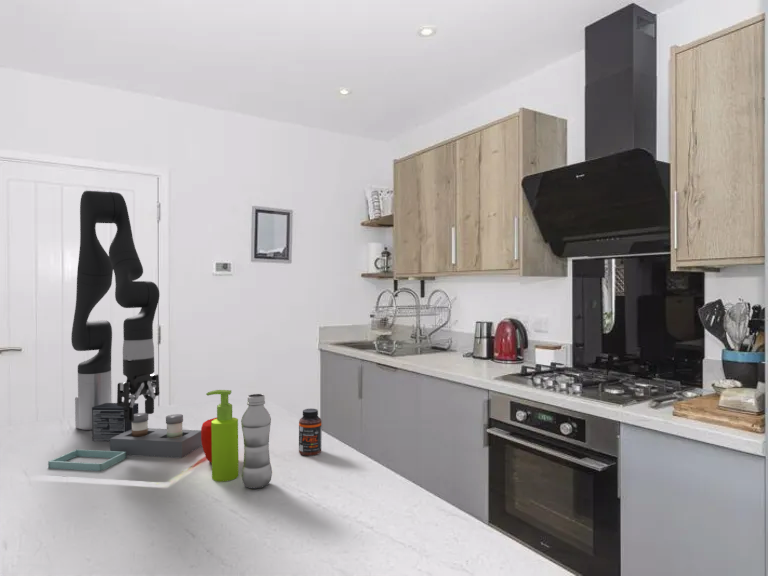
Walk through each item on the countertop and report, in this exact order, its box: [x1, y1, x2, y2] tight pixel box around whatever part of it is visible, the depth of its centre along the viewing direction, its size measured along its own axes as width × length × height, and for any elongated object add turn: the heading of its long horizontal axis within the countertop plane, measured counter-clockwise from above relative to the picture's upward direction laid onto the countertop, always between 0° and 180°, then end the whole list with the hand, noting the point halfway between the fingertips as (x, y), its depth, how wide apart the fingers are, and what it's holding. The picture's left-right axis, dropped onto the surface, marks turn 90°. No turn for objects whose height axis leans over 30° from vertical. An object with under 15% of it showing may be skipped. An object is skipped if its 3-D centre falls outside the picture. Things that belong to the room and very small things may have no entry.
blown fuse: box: [132, 412, 149, 437], centre depth 136 cm, size 4×4×9 cm
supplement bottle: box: [298, 408, 323, 457], centre depth 135 cm, size 6×6×11 cm
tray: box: [47, 448, 127, 472], centre depth 126 cm, size 14×9×2 cm, turn 81°
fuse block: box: [109, 413, 202, 459], centre depth 135 cm, size 20×10×10 cm, turn 81°
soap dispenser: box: [205, 389, 240, 483], centre depth 119 cm, size 6×7×20 cm
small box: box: [91, 402, 139, 442], centre depth 146 cm, size 11×6×10 cm, turn 84°
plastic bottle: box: [240, 393, 273, 489], centre depth 113 cm, size 6×7×20 cm
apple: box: [200, 417, 217, 464], centre depth 129 cm, size 9×9×11 cm
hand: (139, 417), depth 136 cm, fingers open, 8 cm apart
